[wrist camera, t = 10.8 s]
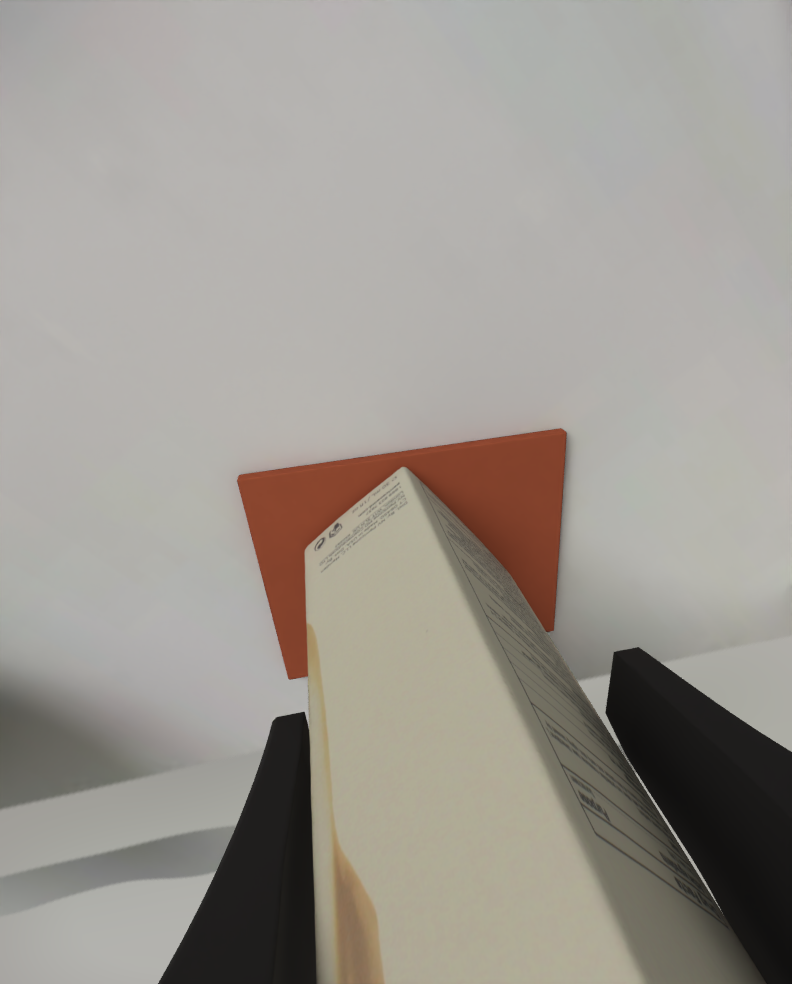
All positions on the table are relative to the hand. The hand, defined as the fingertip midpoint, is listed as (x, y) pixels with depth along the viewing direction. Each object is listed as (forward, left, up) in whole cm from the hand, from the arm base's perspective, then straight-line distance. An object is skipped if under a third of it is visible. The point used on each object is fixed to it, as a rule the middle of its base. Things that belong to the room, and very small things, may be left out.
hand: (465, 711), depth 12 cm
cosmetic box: (0, 0, -6) cm, 6 cm away
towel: (0, 0, -6) cm, 6 cm away
